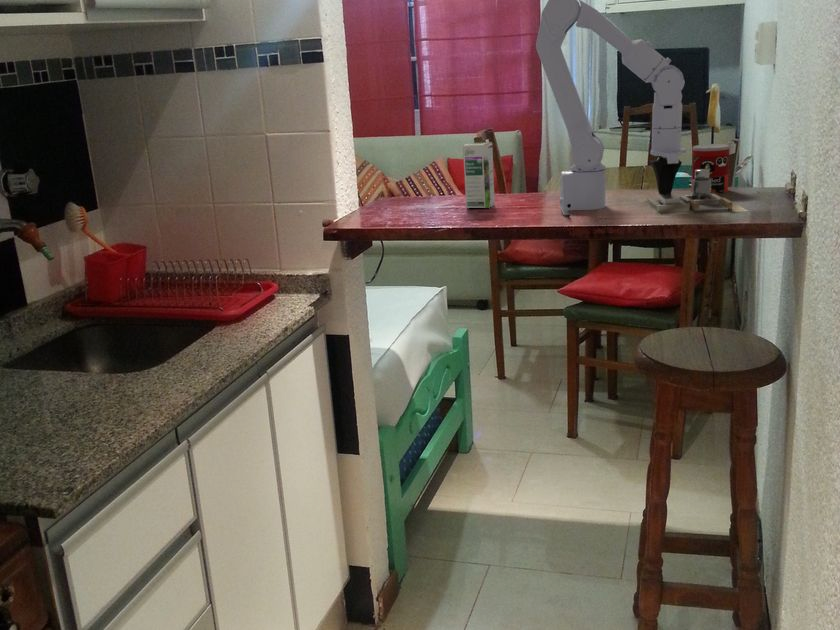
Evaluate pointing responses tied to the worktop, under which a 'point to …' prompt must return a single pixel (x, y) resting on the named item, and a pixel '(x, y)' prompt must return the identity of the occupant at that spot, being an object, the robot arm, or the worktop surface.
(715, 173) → the canned food
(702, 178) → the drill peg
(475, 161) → the syrup box
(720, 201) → the socket board
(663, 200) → the gray rectangular block
